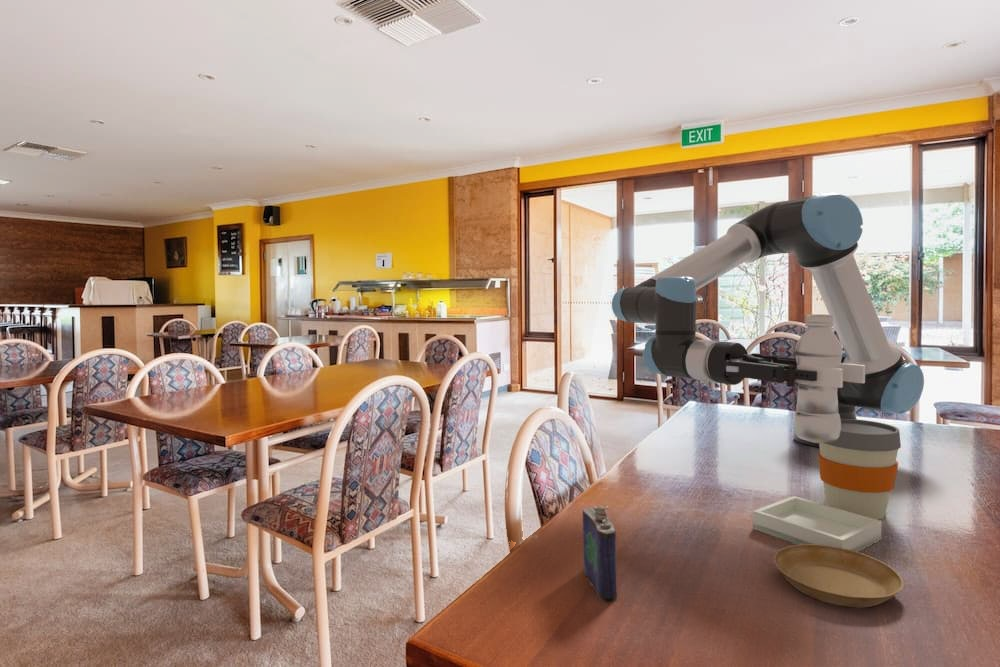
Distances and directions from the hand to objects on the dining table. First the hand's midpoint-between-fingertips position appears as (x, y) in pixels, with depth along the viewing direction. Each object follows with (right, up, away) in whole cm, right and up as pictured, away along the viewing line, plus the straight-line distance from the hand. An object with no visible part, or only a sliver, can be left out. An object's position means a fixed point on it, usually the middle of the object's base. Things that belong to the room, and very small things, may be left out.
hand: (852, 376), depth 88 cm
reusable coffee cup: (+10, -25, +16) cm, 31 cm away
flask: (-39, -27, -9) cm, 49 cm away
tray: (-2, -26, +6) cm, 26 cm away
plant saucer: (-8, -27, -10) cm, 30 cm away
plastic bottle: (-3, -11, +5) cm, 12 cm away
